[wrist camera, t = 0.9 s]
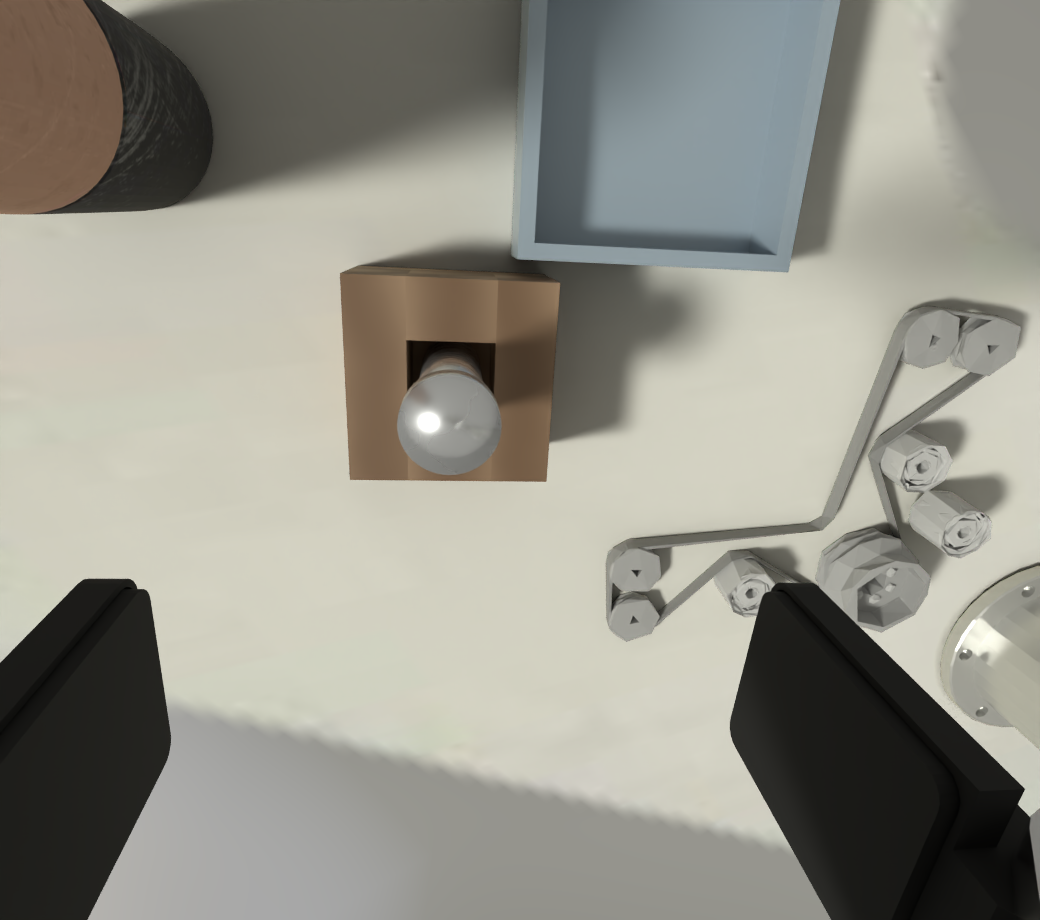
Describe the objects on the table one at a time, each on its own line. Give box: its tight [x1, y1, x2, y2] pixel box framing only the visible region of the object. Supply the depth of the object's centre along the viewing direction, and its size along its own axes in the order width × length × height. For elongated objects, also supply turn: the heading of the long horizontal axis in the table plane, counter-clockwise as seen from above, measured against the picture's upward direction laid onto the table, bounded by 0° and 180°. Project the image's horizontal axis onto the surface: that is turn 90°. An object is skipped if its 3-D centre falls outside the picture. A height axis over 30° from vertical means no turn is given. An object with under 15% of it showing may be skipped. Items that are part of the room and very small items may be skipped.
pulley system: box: [606, 306, 1021, 642], centre depth 36 cm, size 27×5×15 cm
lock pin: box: [397, 341, 502, 475], centre depth 26 cm, size 4×4×10 cm
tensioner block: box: [340, 266, 560, 482], centre depth 30 cm, size 9×9×5 cm
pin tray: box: [511, 0, 840, 272], centre depth 27 cm, size 12×12×4 cm
